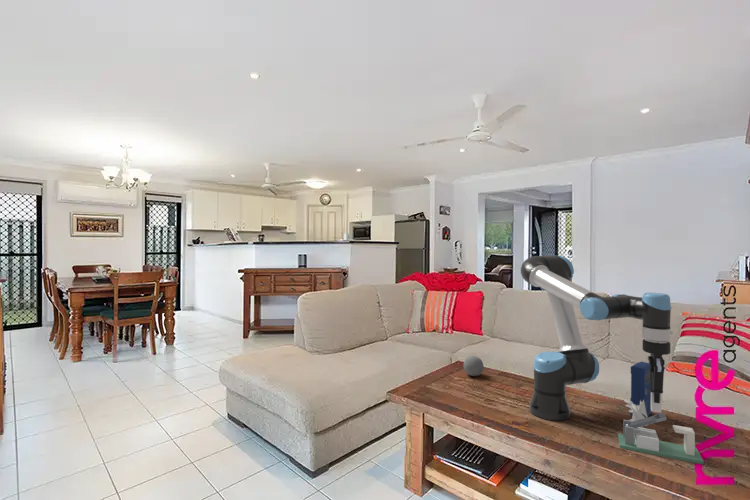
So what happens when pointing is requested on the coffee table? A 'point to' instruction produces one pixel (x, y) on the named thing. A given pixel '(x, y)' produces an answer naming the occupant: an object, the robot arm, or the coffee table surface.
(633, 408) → the figurine
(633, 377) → the electronic device
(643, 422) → the strap
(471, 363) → the decorative ball
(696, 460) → the board
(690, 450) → the bracket
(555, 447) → the coffee table surface
